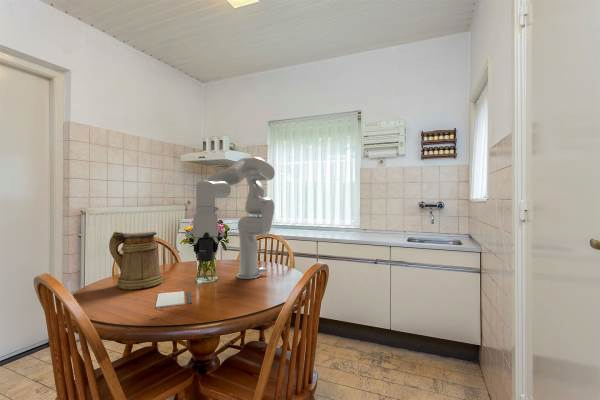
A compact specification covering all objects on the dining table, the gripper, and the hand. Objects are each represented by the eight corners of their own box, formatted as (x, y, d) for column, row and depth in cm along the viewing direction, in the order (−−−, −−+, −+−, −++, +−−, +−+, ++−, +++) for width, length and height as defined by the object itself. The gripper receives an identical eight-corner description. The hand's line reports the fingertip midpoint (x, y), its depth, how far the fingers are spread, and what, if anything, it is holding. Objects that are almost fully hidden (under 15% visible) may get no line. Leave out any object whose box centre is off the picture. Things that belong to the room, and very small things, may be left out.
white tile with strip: (190, 291, 129) (190, 290, 129) (192, 303, 114) (192, 302, 114) (158, 294, 124) (158, 293, 124) (155, 307, 109) (155, 306, 109)
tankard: (155, 289, 131) (156, 233, 131) (97, 291, 128) (98, 234, 128) (167, 278, 149) (167, 229, 149) (117, 280, 146) (117, 229, 146)
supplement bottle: (198, 262, 120) (198, 233, 119) (196, 259, 126) (195, 231, 125) (215, 260, 123) (215, 232, 122) (212, 257, 129) (212, 230, 129)
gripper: (225, 209, 130) (225, 249, 131) (183, 210, 124) (183, 252, 124) (228, 210, 124) (228, 252, 124) (183, 211, 117) (183, 256, 117)
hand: (205, 252), depth 124 cm, fingers closed on supplement bottle, 6 cm apart
